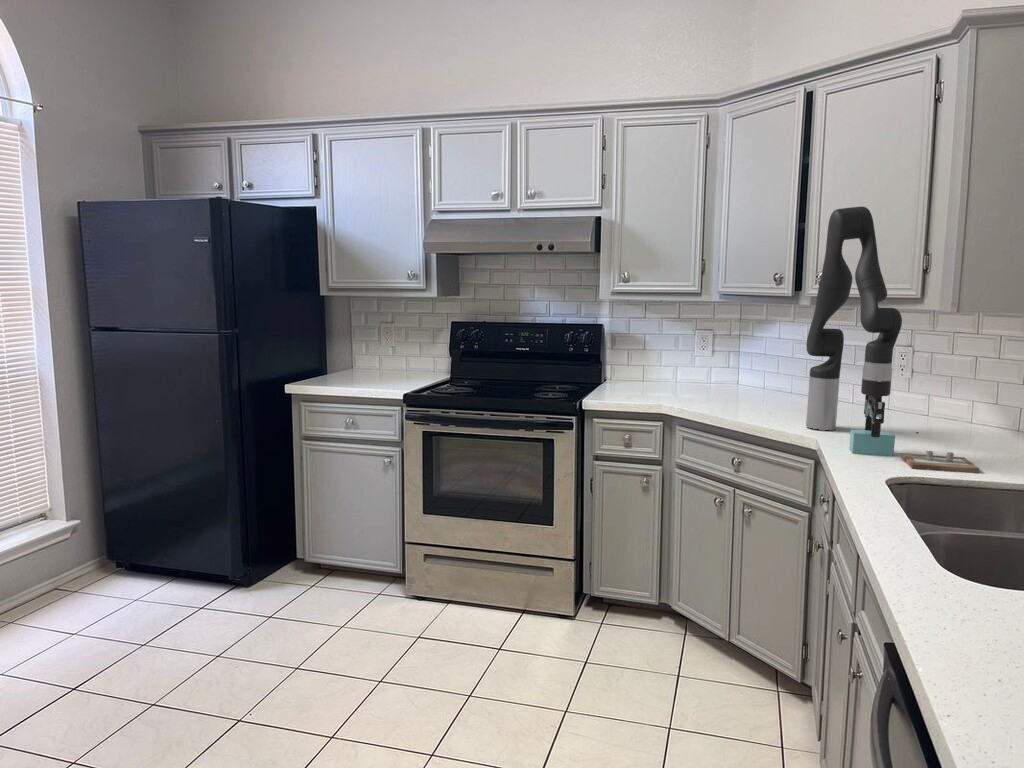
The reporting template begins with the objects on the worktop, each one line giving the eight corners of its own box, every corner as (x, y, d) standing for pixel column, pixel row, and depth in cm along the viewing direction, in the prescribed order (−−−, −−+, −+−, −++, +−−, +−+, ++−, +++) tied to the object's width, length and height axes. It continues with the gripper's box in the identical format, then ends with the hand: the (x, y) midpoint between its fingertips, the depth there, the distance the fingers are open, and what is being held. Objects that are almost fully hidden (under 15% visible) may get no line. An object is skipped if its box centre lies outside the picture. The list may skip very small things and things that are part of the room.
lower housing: (849, 449, 223) (850, 429, 222) (889, 451, 220) (891, 431, 219) (852, 453, 218) (854, 433, 217) (893, 456, 215) (895, 435, 215)
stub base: (900, 457, 214) (902, 445, 213) (964, 461, 210) (965, 449, 209) (912, 468, 202) (913, 455, 202) (979, 473, 198) (980, 459, 198)
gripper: (857, 374, 223) (853, 428, 226) (867, 380, 210) (863, 438, 212) (885, 375, 222) (880, 429, 224) (897, 382, 208) (892, 440, 210)
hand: (872, 433), depth 218 cm, fingers open, 8 cm apart
